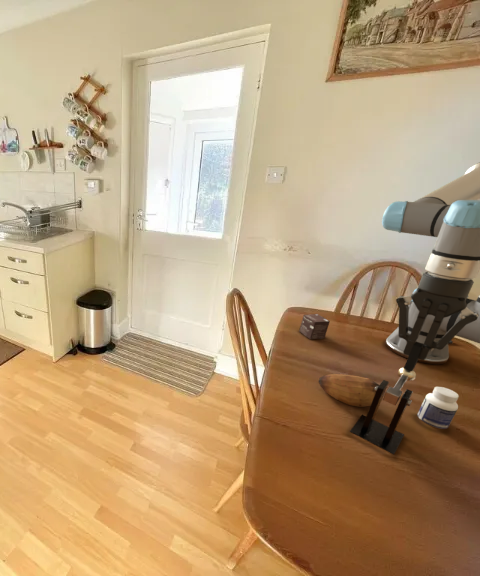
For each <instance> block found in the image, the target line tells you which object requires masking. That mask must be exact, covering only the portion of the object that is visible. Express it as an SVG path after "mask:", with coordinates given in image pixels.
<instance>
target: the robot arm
mask: <svg viewBox="0 0 480 576" xmlns="http://www.w3.org/2000/svg"><path fill="white" fill-rule="evenodd" d="M381 225H382V227H383V228H384V229H385V230H387V231H392V232H397V233H398V234H411V235H418V236H426V237H431V238H436V240H435V243H434V246H433V248H432V250H431V253H430V255H429V258H428V260H427V262H426V265H425V268H424V270H425V272H423V273H422V274H421V279H419V282H418V286H417V288H415V289H414V290H413V291H412V293H411V294H410V295H405V296H404V295H399V296H398V297H397V298H396V299H395V302H396V304H397V306H398V326H397V328H396V329H394V331H393V332H392V333H390V335H388V337H387V338H386V340H385V342H384V345H385V347H386V348H387V349H388V350H390V351H391V352H392V353H394V354H396V355H398V356H400V357H402V358H406V362H405V364H404V366H403V367H404V369H406V370H409V371H413V370H414V369H415V368H416V365H417V363H422V364H427V365H444V364H446V363H447V362H448V360H449V357H450V350H449V345H451V344H454V341H453V339H454V338H455V337H459V338H462V339H466V340H467V341H471V342H474V343H477V344H480V294H479V295H478V297H477V298H476V299H471V298H469V294H470V292H471V290H472V287H473V285H474V283H475V282H474V280H473V279H476V278H477V277H478V275H479V272H480V161H479V162H477V163H476V164H474V165H472V166H471V167H469V168H468V169H467V170H466V172H465V173H464V174H463V175H461V176H459V177H457V178H455V179H453V180H452V181H450V182H448V183H446V184H444V185H443V186H440V187H439V188H437V189H434V190H433V191H431V192H429V193H427V194H425V195H424V196H422V197H420V198H418V199H417V200H416V199H415V200H414V201H409V200H405V201H399V200H398V201H397V200H396V201H394V202H392V203H390V204H389V205H388V206H387V207H386V208H385V210H384V212H383V215H382V218H381Z"/></svg>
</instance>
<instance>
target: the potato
mask: <svg viewBox="0 0 480 576" xmlns="http://www.w3.org/2000/svg"><path fill="white" fill-rule="evenodd" d="M318 384H319V386H320V388H321V389H322V390H323V391H324V392H325V393H326V394H327V395H328V396H330V397H331V398H334V399H335V400H337V401H339V402H341V403H344V404H346V405H348V406H352V407H358V408H364V407H370V406H371V403H372V401H373V398H374V396H375V393H376V392H374V390H375V388H376V386H379V385H380V383H377V382H376V381H375V380H373V379H371V378H367V377H363V376H359V375H354V374H353V375H352V374H344V373H343V374H342V373H330V374H324V375H322V376H320V377H319V379H318Z"/></svg>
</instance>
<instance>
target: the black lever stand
mask: <svg viewBox="0 0 480 576" xmlns="http://www.w3.org/2000/svg"><path fill="white" fill-rule="evenodd" d="M389 383H390V382H389V381H387V380H385V379H383V380H382V381H381V382H380V383H379V386H376V388H375V390H374V392H376V393H375V396H374V398H373V401H372V403H371V405H370V406H369V408H368V411H367V413H366V415H365V414H361V415H360V416H359V418H358V419H357V421H356V422H355V424H353V426H352V427H351V429H350V430H349V432H350V433H351V434H353V435H355V436H357V437H359V438H361V439H363V440H365V441H367V442H369V443H371V444H373V445H374V446H376V447H378V448H380V449H382V450H384V451H386V452H387V453H390V454H391V455H395V454H396V452H397V450H398V448H399V446H400V444H401V442H402V440H403V438H404V437H405V433H402V432H400V431H398V430H397V428H398V426H399V424H400V422H401V420H402V417H403V415H404V413H405V410H406V408H407V406H408V407H410V406H411V405H412V402H413V400H412V399H411V397H412V395H413V392H414V391H413V390H411V389H408V388H406V390H405V391H404V393H402V395H401V397H400V399H399V401H398V402H399V403H397V407H396V409H395V410H394V411H395V412H394V414H393V416H392V419H391V421H390V423H389V426H387V425H385V424H383V423H381V422H379V421H377V420H375V418H376V415H377V413H378V410H379V408H380V406H381V403H382V401H383V398H384V395H385V393H386V391H387V389H388V385H389Z"/></svg>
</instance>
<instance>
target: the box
mask: <svg viewBox="0 0 480 576" xmlns="http://www.w3.org/2000/svg"><path fill="white" fill-rule="evenodd" d="M329 326H330V320H329V319H326V317H324V316H321V315H320V314H319V313H312V314H303V316H302V320H301V323H300V327H299V330H298V332H300V334H301V335H303V336H305V337H307V338H308V339H310V340H319V339H325V338H326V334H327V331H328V328H329Z"/></svg>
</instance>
